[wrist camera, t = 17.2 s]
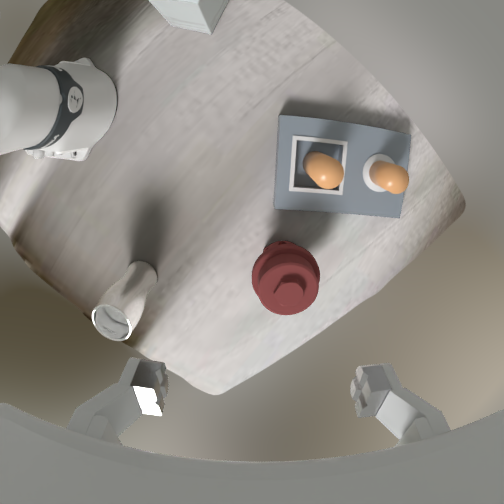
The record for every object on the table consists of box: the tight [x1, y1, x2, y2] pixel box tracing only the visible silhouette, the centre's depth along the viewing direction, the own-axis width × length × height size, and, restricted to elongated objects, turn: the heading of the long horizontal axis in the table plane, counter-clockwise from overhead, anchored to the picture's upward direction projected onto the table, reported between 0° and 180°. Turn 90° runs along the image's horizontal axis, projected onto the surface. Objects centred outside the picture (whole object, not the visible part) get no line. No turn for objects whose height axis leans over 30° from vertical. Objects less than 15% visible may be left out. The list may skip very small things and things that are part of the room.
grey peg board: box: [273, 115, 411, 218], centre depth 39 cm, size 21×14×9 cm, turn 88°
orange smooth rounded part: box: [302, 151, 344, 189], centre depth 38 cm, size 4×4×9 cm
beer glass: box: [92, 261, 157, 341], centre depth 45 cm, size 7×7×15 cm
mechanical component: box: [252, 241, 320, 315], centre depth 44 cm, size 12×10×10 cm
